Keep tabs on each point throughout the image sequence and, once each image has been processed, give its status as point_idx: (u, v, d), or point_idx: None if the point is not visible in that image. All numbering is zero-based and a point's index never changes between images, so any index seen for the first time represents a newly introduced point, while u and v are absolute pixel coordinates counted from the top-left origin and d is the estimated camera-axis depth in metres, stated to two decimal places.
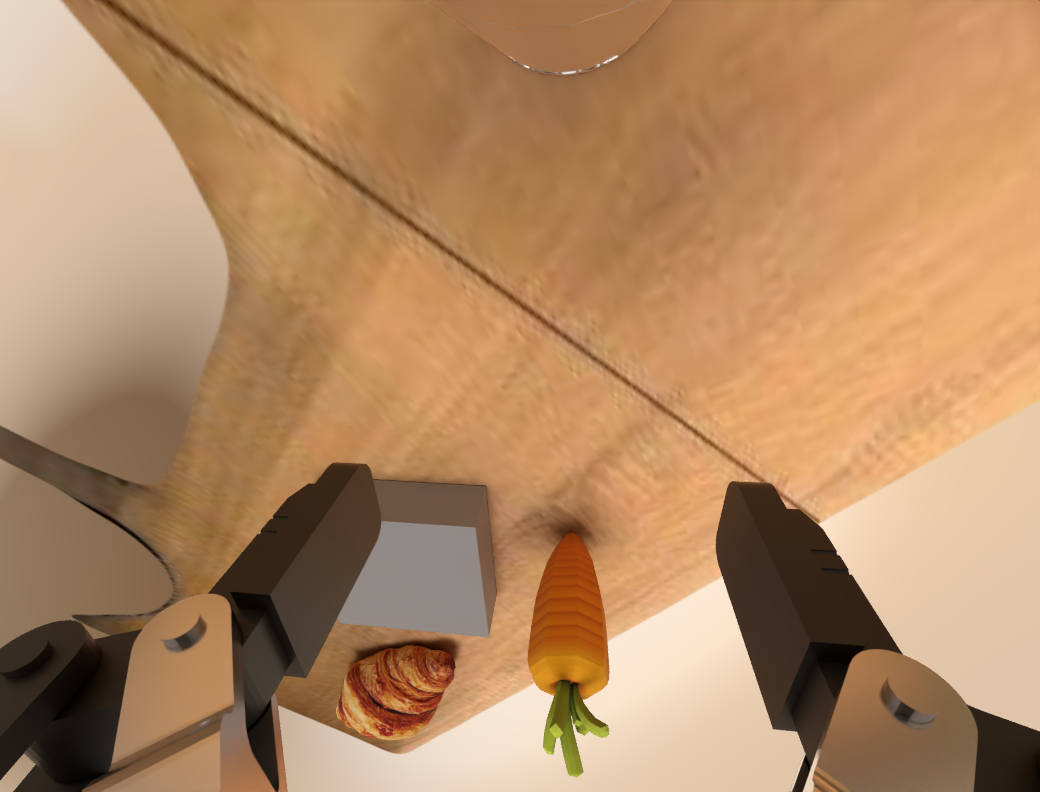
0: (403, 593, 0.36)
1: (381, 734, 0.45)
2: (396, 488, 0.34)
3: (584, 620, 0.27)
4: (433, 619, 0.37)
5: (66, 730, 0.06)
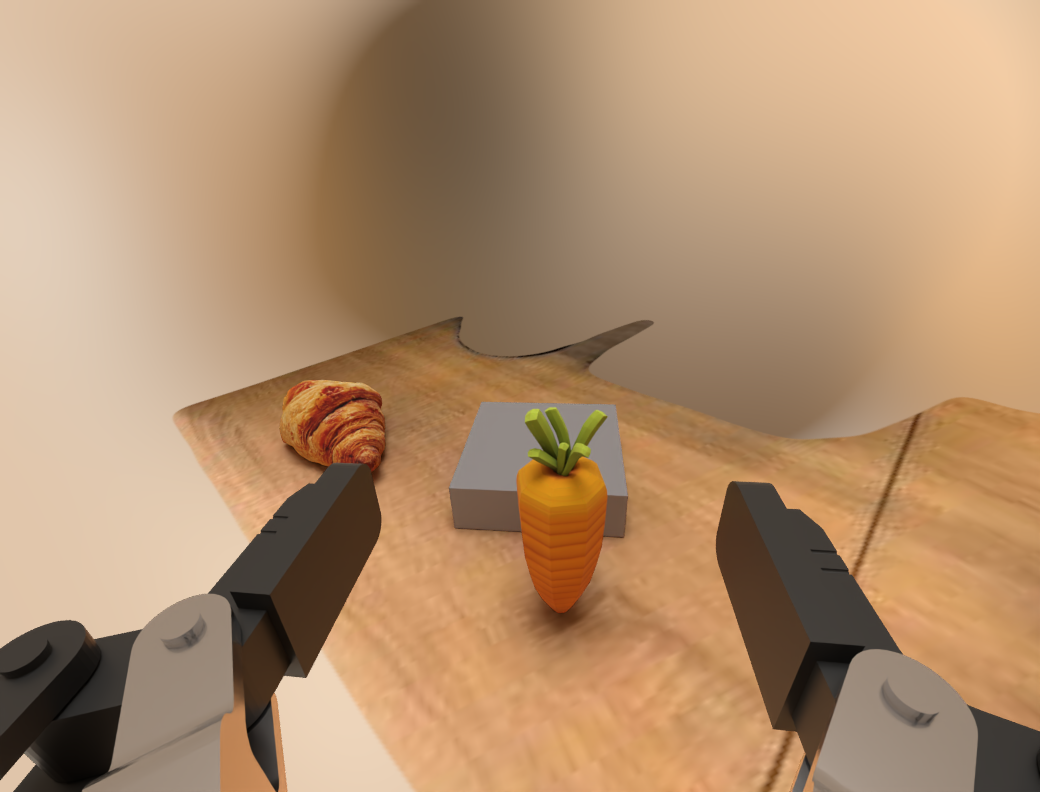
0: (524, 440, 0.39)
1: (328, 386, 0.44)
2: None
3: (600, 523, 0.24)
4: (483, 453, 0.38)
5: (66, 730, 0.06)
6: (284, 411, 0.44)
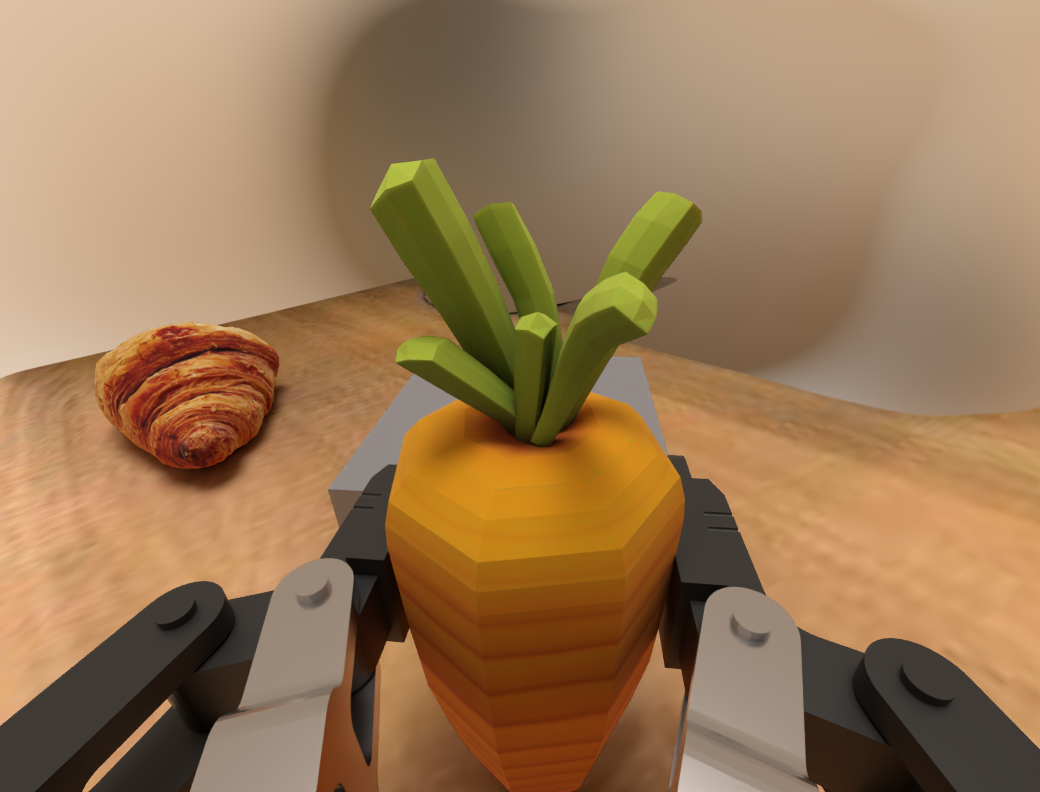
0: None
1: (170, 326, 0.27)
2: None
3: (657, 601, 0.07)
4: (411, 427, 0.21)
5: (196, 690, 0.07)
6: (98, 364, 0.27)
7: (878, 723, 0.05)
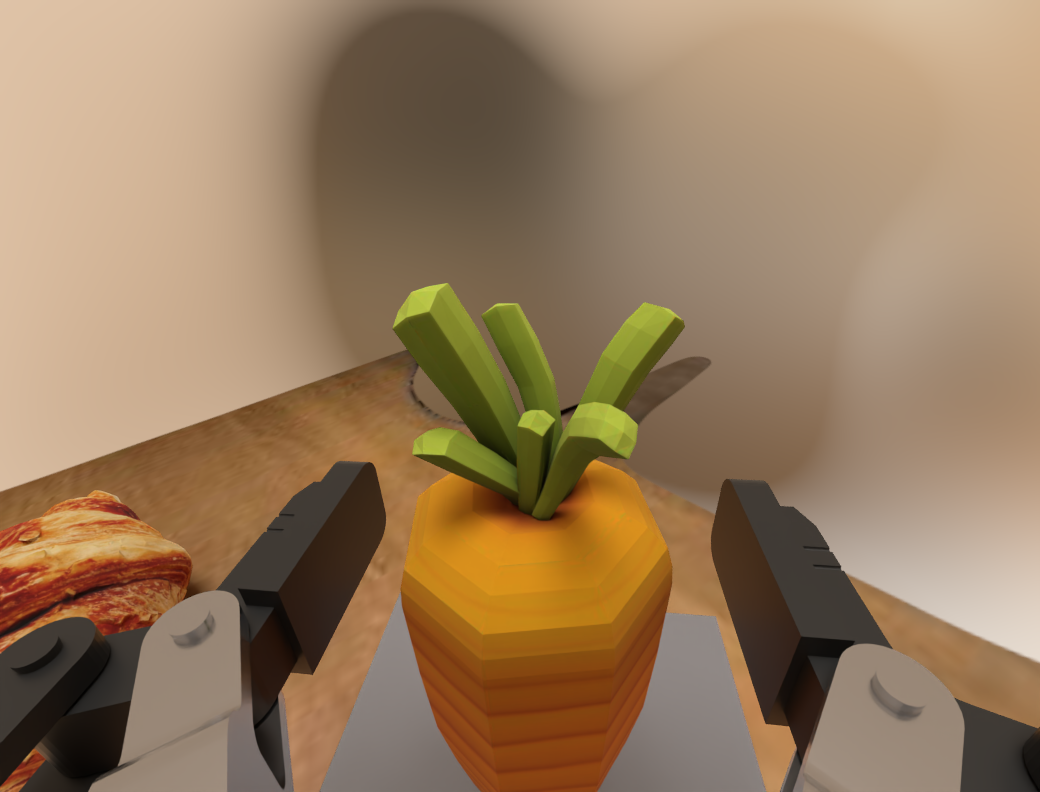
0: None
1: (2, 570, 0.18)
2: None
3: (647, 657, 0.08)
4: None
5: (75, 726, 0.06)
6: None
7: None
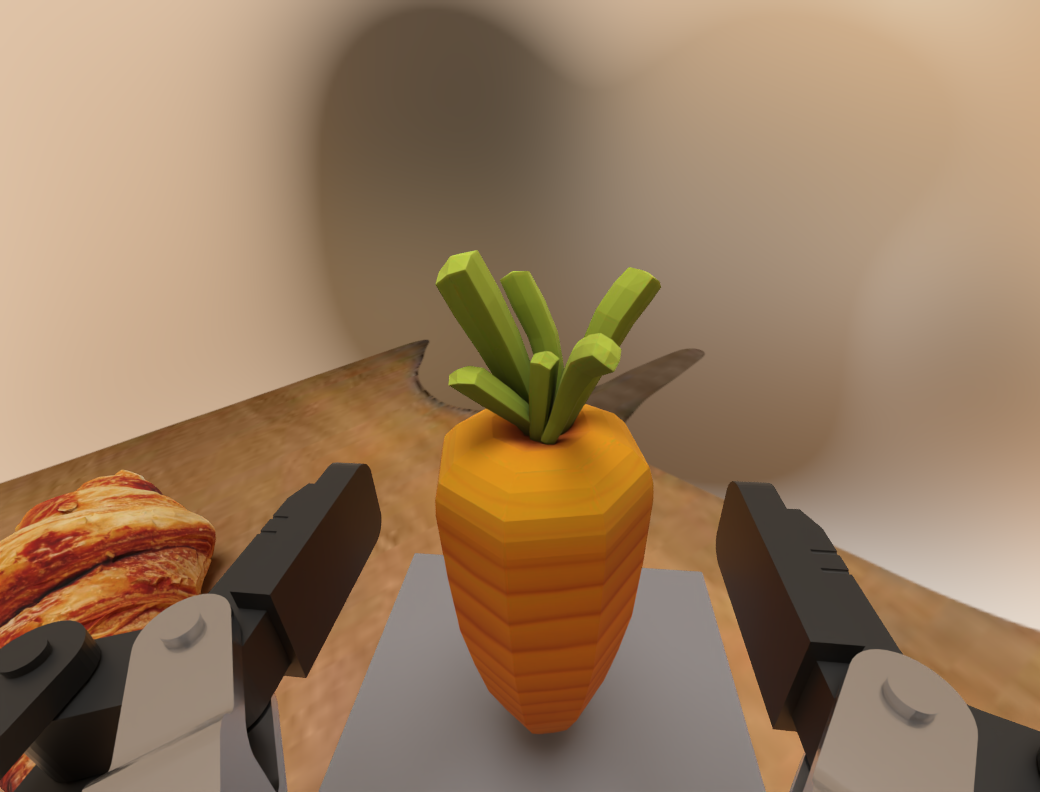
0: (497, 715, 0.15)
1: (48, 533, 0.20)
2: None
3: (634, 562, 0.10)
4: (383, 774, 0.14)
5: (66, 730, 0.06)
6: None
7: None
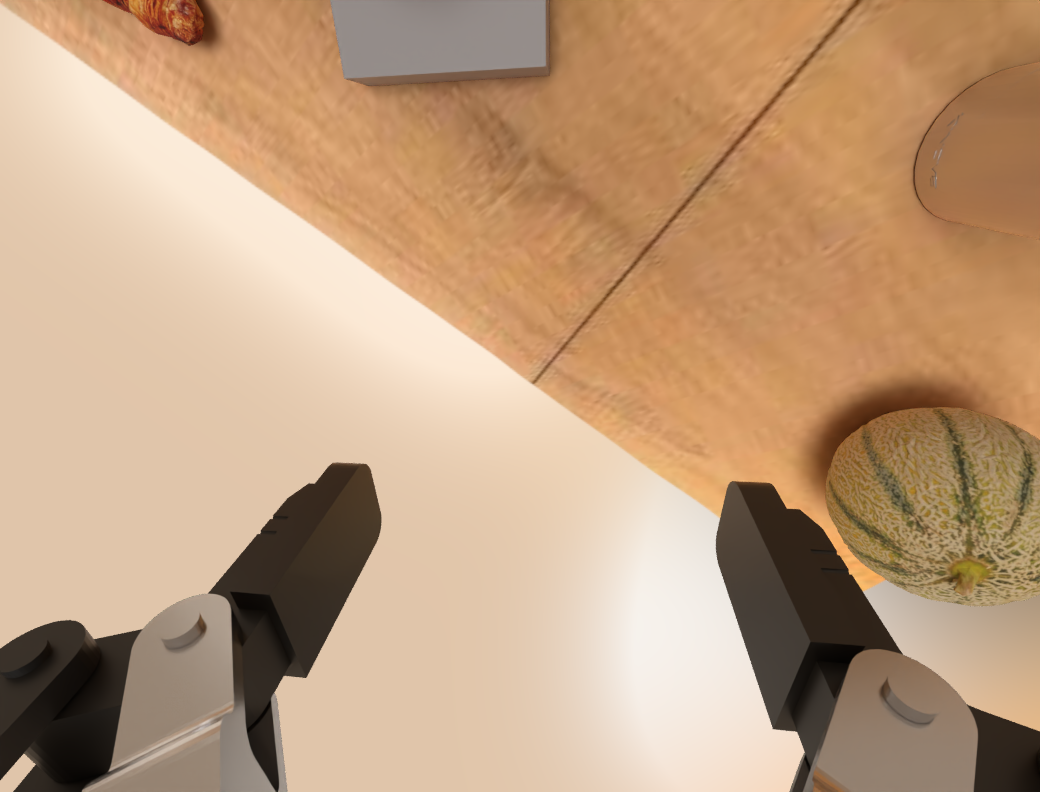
0: None
1: None
2: None
3: None
4: None
5: (66, 730, 0.06)
6: None
7: None
